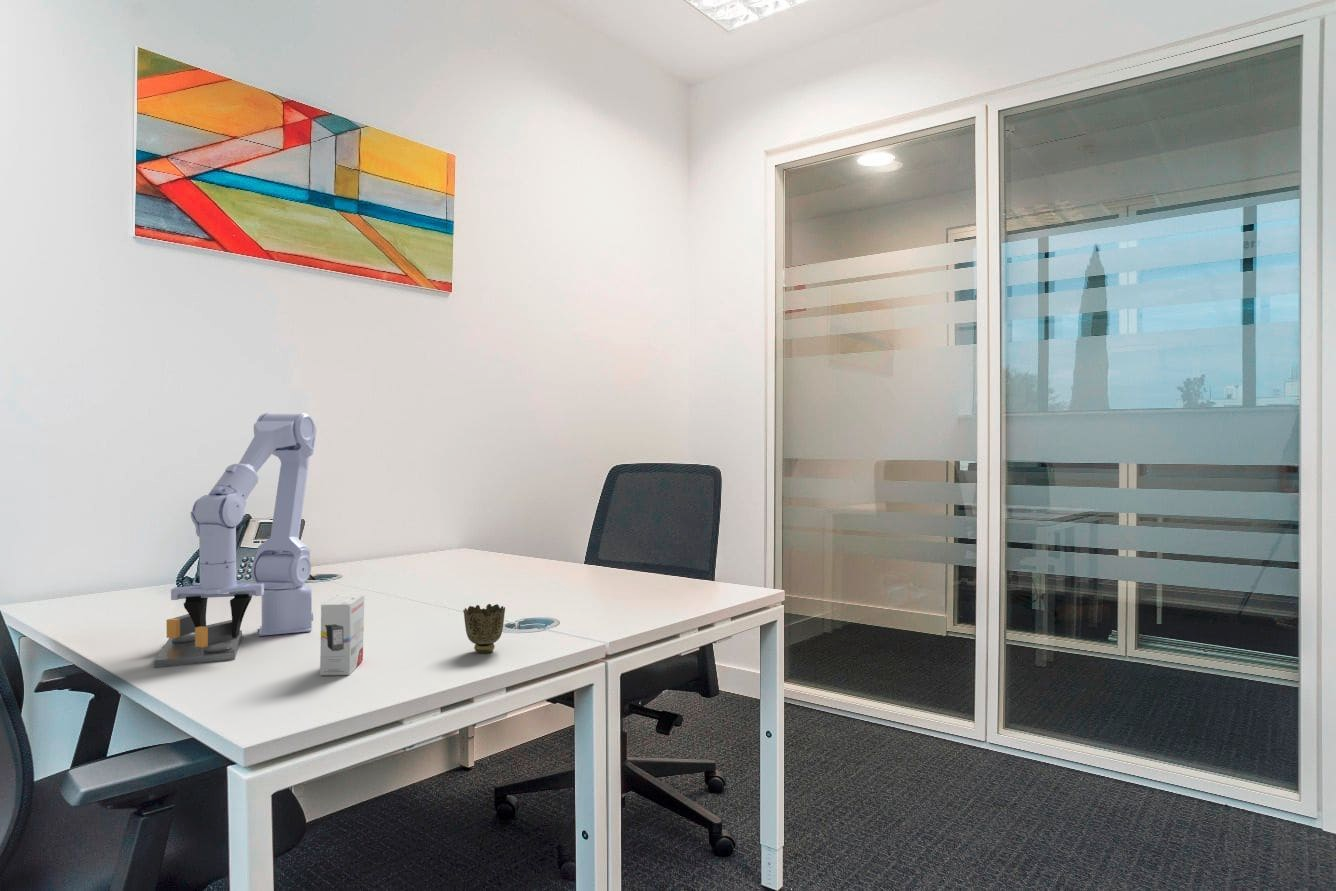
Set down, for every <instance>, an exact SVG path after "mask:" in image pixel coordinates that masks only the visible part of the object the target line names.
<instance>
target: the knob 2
mask: <svg viewBox="0 0 1336 891" xmlns="http://www.w3.org/2000/svg"><path fill="white" fill-rule="evenodd" d="M231 632H232V619H229V620H225V621H224V620H223V621H221V622H216V623H211V624H206V626H202V627H201V626H200V627H196V628H195V646H196V647H202V648H203V651H205V652H218V651H224V650H228V649H230V648H231V647H232V644H231V640H233V639H237V637H236V638H232V633H231Z"/></svg>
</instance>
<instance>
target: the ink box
mask: <svg viewBox="0 0 1336 891" xmlns="http://www.w3.org/2000/svg"><path fill="white" fill-rule="evenodd" d="M320 606H321V607H320V655H319V656H320V662H319V663H320V664H319V665H320V666H319V674H320V676H350V675H351V674H352V673H353V672H354V671H355V670H356V669H357V667H359V665H360V664H361V663H362V662H363V660H364V630H365V629H364V625H365V622H364V621H365V595H364V594H343V595H340V594H339V595H336V596H334V597H332V598H331V599H329V600H327V601H326V602H323V603H322V604H321V605H320Z"/></svg>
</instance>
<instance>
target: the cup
mask: <svg viewBox="0 0 1336 891" xmlns="http://www.w3.org/2000/svg"><path fill="white" fill-rule="evenodd" d="M462 612H463V617H464V618H463V620H464V625H465V626H464V627H465V632H466V635H467V638H468V640H469V641H470V643H472V644H473V645H474V646H473V649H474V651H475V653H478V654H489V653H492V652H493V651H494V650H495V647H496V646H495V643H496V642H498V641H499V639H500V638H501V637H502V634H503V630H504V629H503V628H504V620H505V612H506V607H505V606H504V605H502V606H500V605H499V604H498V603H497V604H494V605H492V604H490V603H488V604H486V607H485V608H484V607H483V608H481V606H480V605H478V604H477V605H475V606H472V605H469V606H468V607H467V608H466V607H464V609H463V610H462Z"/></svg>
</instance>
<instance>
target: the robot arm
mask: <svg viewBox="0 0 1336 891" xmlns="http://www.w3.org/2000/svg"><path fill="white" fill-rule="evenodd" d="M253 435H254V436H253V438H252V439H251V441H250V442H249V445H248V447H247V448H246V450H245V452H244V454H243V455H242V457H241V459H240V460H239V462H238V463H233V464H230V465H228V466H227V467H226V468H225V470H224V472H223V473H222V475H221V476H220V478H219V479H218V480H217V482H216V483H215V485H214V486H213V487H212V488H211V490H210V491H209V493H208V494H206V495H202V496H201V497H199V498H197V500H195V502H194V504H193V506H192V510H191V511H190V518H191V521H192V523H193V524H194V526H195V535H196V536H197V537H198V538H199V540H198V541H199V543H198V544H199V547H198V548H199V585H189V586H176V587H175V586H174V587H173V588H171V589H170V600H171V601H178V600H185V601H184V603H183V607H184V609H185V610H186V612H187V614H189V615H190V617H191V619H192V621H193V623H194V625H195V628H196V627H200V626H201V627H202V626H206V625H207V606H208V599H209V598H228V597H229V598H230V597H233V598H231V599H230V600H229V606H230V611H231V620H232V632H231V633H232V638H236V637H238V636H239V632H240V630H241V626H242V621H243V618H244V616H245V613H246V611H247V609H248V606H249V604H250V602H251V601H252V598H253V596H254V597H261V625H260V626H259V630H258V636H260V637H261V636H263V637H264V636H273V635H282V634H283V635H286V634H294V633H295V634H297V633H304V632H305V633H306V632H311V631H313V630H312V626H313V625H312V624H313V623H312V622H314V611H312V600H313V599H312V585H311V584H310V585H309V584H306V585H305V583H306V582H307V581H308V580H309V578H310V575H311V573H312V572H311V571H312V564H311V549H310V548H309V546H308V545H306V544H305V543H304V542H302V540H300V532H301V524H302V517H303V510H304V502H305V496H306V495H305V494H306V488H307V479H308V474H309V473H308V471H309V466H310V457H311V456H313V455H314V449H315V444H316V443H315V442H316V435H317V427H316V424H315V422H314V420H313V418H312V417H311V416H310V414H309V413H306V412H302V413H268V412H265V413H261V414H260V415H259V416H258V418H257V419H256V421H255V423H254V424H253ZM272 455H273V456H275V457H277V458H278V459H279V461H280V468H279V476H278V482H277V489H276V490H277V491H276V496H275V501H274V502H275V504H274V510H273V519H272V524H271V530H270V531H271V532H270V537H269V538H268V539H266V540H265V541H264V542H262V543H261V544H260V545H258V546H257V550H256V554H255V556H254V559H253V561H252V563H251V564H252V565H251V567H250V573H251V577H252V579H253V581H254V582H255V583H243V582H242V583H241V582H240V583H237V526H238V525H239V524H240V523H241V522H242V521H243V518H244V514H245V508H246V505H247V499H248V497H249V496H250V494H251V493H252V491H253V490H254V489H255V487H256V485H257V484H258V483H259V476H258V474H257V473H258V472H259V470H260V469H261V468H262V466H264V464H265V463H266V462H267V460H268V459H269V458H270V457H271V456H272Z"/></svg>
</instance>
